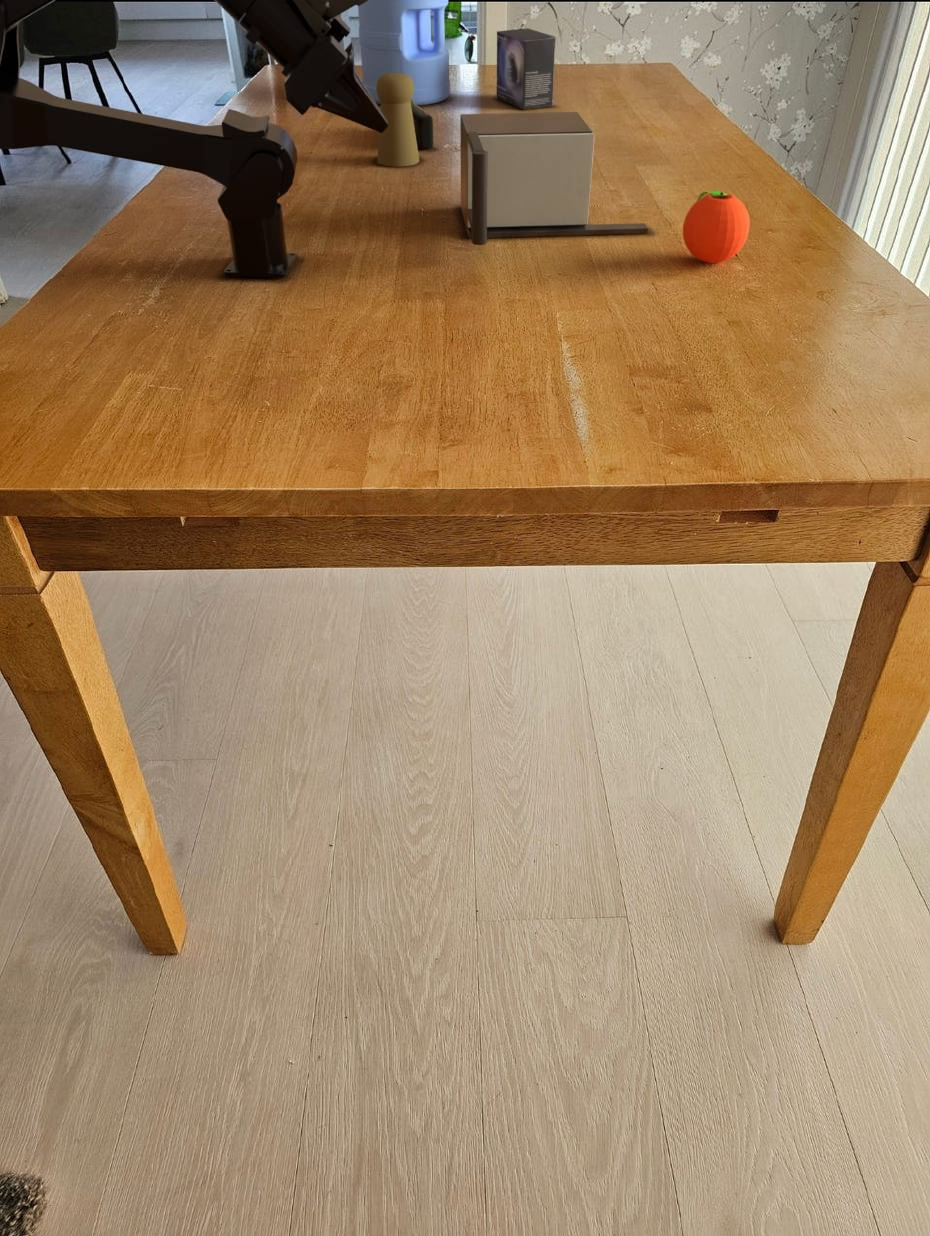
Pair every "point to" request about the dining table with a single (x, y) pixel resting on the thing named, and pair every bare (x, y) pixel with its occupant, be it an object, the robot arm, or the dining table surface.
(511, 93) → the small box
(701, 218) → the clementine
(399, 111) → the cork
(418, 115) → the mobile phone
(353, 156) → the dining table surface
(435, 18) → the water jug
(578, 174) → the sliding door
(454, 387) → the dining table surface
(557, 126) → the cabinet
